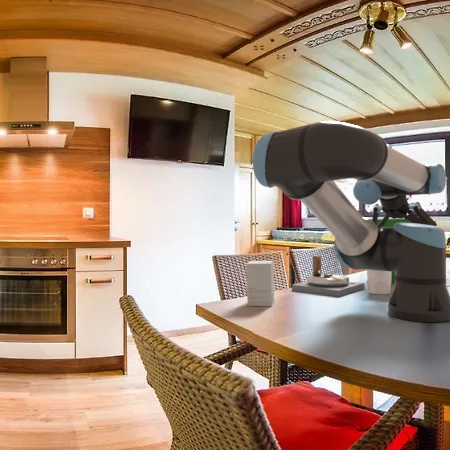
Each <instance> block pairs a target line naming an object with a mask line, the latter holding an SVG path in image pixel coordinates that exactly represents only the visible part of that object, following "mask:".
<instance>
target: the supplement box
mask: <svg viewBox="0 0 450 450" xmlns="http://www.w3.org/2000/svg"><path fill="white" fill-rule="evenodd" d="M245 270H246V297H247V299H246V300H247V306H248V307H272V306H273V304H275V303H274V302H275V284H274V283H275V279H274V276H275V275H274V260H249V261H248V262H247V263H246V264H245Z"/></svg>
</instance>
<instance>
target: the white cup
mask: <svg viewBox="0 0 450 450" xmlns="http://www.w3.org/2000/svg"><path fill="white" fill-rule="evenodd" d="M366 276H367V277H366V278H367V279H366V280H367V286H368V293H369V294H373V295H389V294H390V295H391V294H392V291H391V288H392V286H391V285H392V283H391V277H392V271H379V270H366Z"/></svg>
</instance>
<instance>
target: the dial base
mask: <svg viewBox="0 0 450 450" xmlns="http://www.w3.org/2000/svg"><path fill="white" fill-rule="evenodd" d="M365 287H366V286H365V282H359V281H350V280H349V284H348V285H345V286H316V285H311V284H308V280H306V281H302V282H298V283H293V284H291V291H293V290H294V291H293V292H302V293H309V294H316V295H322V296H323V295H324V296H331V297H338V298H340V297H342V296H346V295H349V294H352V293H356V292H359V291H362V290H364V289H365Z"/></svg>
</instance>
